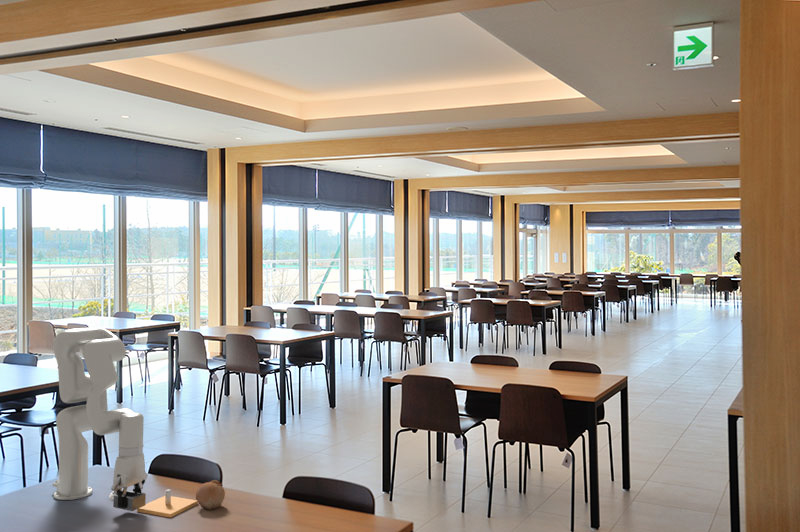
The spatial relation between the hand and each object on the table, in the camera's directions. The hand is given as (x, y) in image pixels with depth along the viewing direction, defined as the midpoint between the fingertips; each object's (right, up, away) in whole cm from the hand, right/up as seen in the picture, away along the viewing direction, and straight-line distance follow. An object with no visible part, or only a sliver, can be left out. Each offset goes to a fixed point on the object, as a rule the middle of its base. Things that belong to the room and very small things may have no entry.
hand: (129, 503), depth 229 cm
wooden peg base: (+11, -4, +6) cm, 13 cm away
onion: (+25, -4, +7) cm, 26 cm away
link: (0, -1, 0) cm, 1 cm away
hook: (-10, -4, +17) cm, 20 cm away
